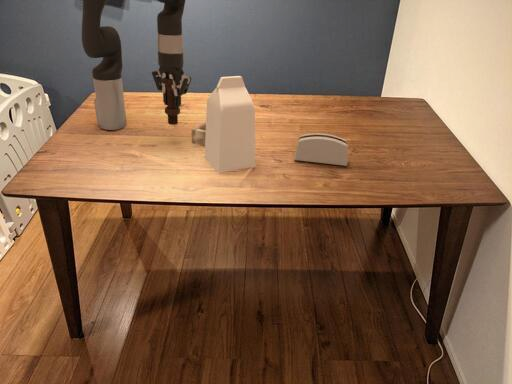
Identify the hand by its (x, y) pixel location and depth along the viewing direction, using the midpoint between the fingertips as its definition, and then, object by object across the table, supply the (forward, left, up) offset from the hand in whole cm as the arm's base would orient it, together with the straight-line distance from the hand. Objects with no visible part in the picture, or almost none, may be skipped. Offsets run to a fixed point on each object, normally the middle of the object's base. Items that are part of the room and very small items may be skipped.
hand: (172, 105), depth 129 cm
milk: (+23, -3, -13) cm, 27 cm away
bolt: (0, 0, -6) cm, 6 cm away
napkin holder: (+47, +13, -13) cm, 51 cm away
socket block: (+10, +9, -13) cm, 19 cm away
